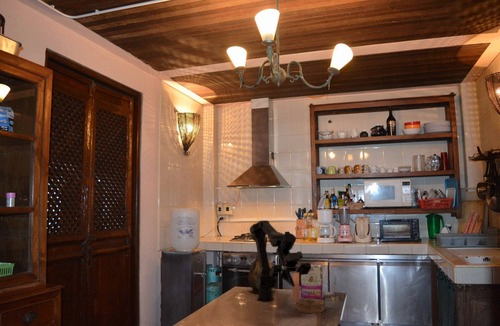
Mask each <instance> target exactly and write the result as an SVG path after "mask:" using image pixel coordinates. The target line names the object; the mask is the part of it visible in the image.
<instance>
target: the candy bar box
mask: <svg viewBox="0 0 500 326" xmlns="http://www.w3.org/2000/svg"><path fill="white" fill-rule="evenodd" d="M305 298H313V299H321V300H323V298H324V279H323V265H322V264H321V265H320V264H311V269H310V271H309V273H308V274H306V275H301V286H300V299H305Z"/></svg>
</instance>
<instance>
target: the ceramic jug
mask: <svg viewBox="0 0 500 326" xmlns="http://www.w3.org/2000/svg"><path fill="white" fill-rule="evenodd" d="M264 240H265V246H266V247H267V245H268V244H267V243H268V237H267V236H266V237H265V239H264ZM268 262H269V267H270V268H272V266H273V265H274V264H272V262H271V260H270V258H269V257H268ZM259 271H260V264H259V259H258V256H257V257H255V260H253V262H252V264H251V266H250V268H249V271H248V276H247V280H248V281H247V282H248V285H249V287H251V289H252V294H256V295H259V288H257V287H256V281H257V279H258V273H259ZM275 278H276V279H277V277H275Z"/></svg>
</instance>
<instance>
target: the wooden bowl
mask: <svg viewBox="0 0 500 326" xmlns="http://www.w3.org/2000/svg"><path fill="white" fill-rule="evenodd" d="M295 305H296V310H298V311H299V312H301V313H309V314H316V313H322V312H323V311H325V310H326V303H325V301H324V300H323V299H314V298H300V301H298V302H296V304H295Z"/></svg>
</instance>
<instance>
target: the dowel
mask: <svg viewBox="0 0 500 326" xmlns="http://www.w3.org/2000/svg"><path fill="white" fill-rule="evenodd" d="M291 273H292V275H291V277H292V280H293V282H294V287H293V286H292V285H291V287H292V288H291V289H292V290H291V291H292V302H298V301H300V299H301V295H300V286H299V272H291Z"/></svg>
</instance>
